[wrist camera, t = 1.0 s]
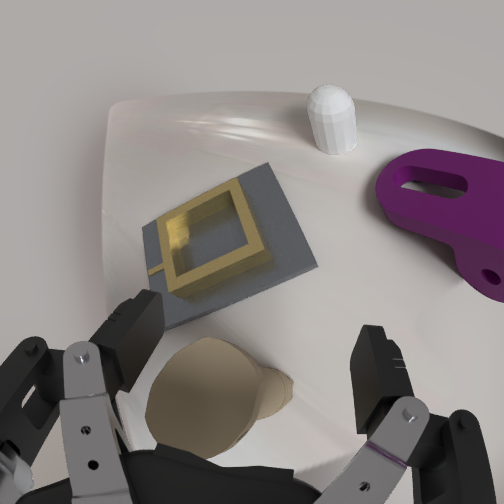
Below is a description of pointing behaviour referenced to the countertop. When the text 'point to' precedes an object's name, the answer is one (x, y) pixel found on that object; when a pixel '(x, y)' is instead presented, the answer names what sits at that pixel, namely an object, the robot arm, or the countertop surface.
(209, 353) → the handle
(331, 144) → the capsule
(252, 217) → the plate
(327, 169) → the countertop surface
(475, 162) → the mounting bracket
